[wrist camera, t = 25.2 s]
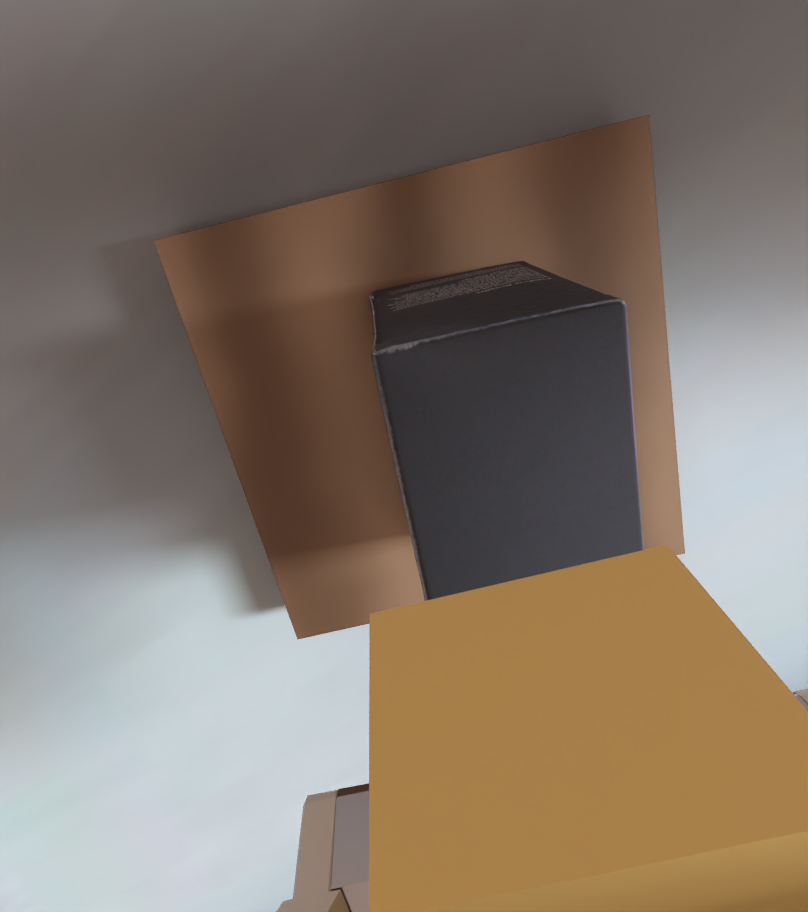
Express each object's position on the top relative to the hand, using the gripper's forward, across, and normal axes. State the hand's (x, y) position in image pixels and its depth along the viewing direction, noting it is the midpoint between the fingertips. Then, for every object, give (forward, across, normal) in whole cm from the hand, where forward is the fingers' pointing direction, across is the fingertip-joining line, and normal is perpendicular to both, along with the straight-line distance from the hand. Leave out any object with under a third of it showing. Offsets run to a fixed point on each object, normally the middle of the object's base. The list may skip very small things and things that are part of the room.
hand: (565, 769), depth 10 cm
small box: (+18, -1, 0) cm, 18 cm away
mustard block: (+2, 0, 0) cm, 2 cm away
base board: (+21, 0, 0) cm, 21 cm away
